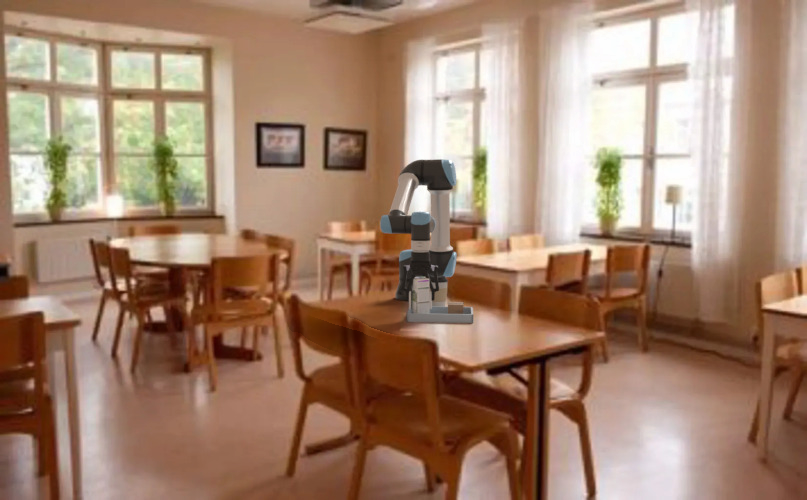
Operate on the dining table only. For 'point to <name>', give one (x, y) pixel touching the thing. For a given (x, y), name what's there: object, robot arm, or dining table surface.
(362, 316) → the dining table surface
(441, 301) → the coffee cup
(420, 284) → the syrup box
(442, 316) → the tray
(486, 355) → the dining table surface
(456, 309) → the walnut block
